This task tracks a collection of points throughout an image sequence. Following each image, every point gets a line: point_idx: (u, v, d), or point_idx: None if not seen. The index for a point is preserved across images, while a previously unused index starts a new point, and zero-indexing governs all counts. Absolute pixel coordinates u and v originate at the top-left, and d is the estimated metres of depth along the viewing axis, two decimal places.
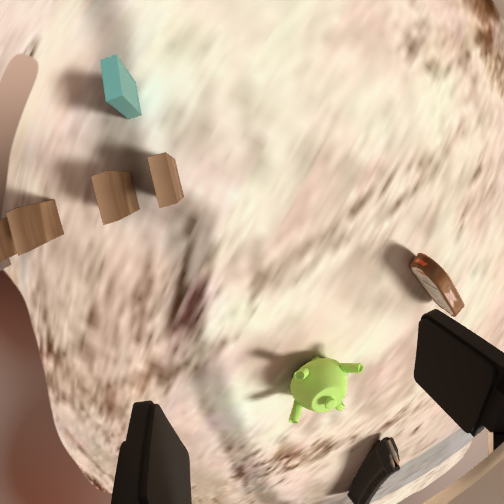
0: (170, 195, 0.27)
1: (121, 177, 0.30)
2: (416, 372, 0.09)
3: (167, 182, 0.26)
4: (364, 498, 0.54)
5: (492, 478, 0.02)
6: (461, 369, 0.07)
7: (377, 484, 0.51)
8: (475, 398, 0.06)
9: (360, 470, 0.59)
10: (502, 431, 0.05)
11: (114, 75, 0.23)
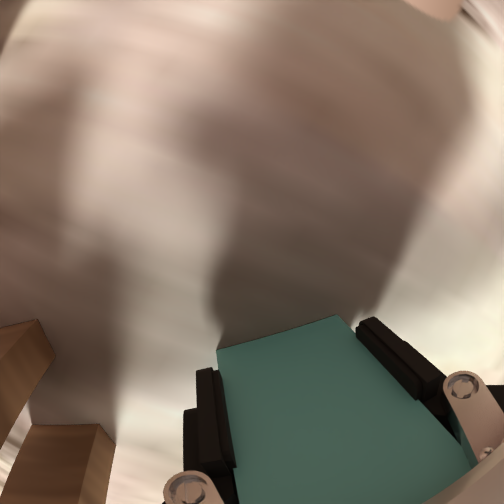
0: None
1: None
2: None
3: None
4: None
5: (492, 478, 0.02)
6: None
7: None
8: None
9: None
10: None
11: None
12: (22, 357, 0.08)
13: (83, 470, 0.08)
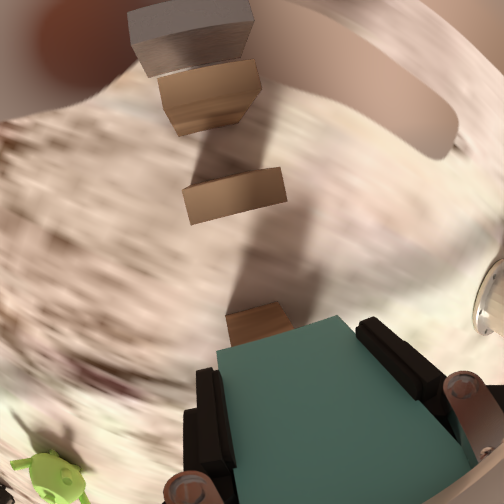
0: None
1: None
2: None
3: None
4: None
5: (492, 478, 0.02)
6: None
7: None
8: None
9: None
10: None
11: None
12: None
13: None
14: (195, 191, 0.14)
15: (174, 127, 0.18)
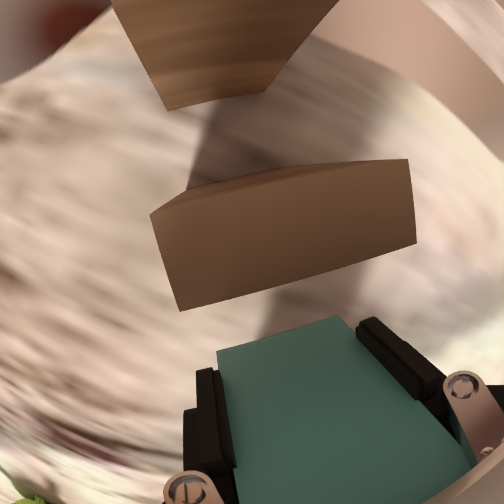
0: None
1: None
2: None
3: None
4: None
5: (492, 478, 0.02)
6: None
7: None
8: None
9: None
10: None
11: None
12: None
13: None
14: (189, 218, 0.05)
15: (155, 84, 0.09)
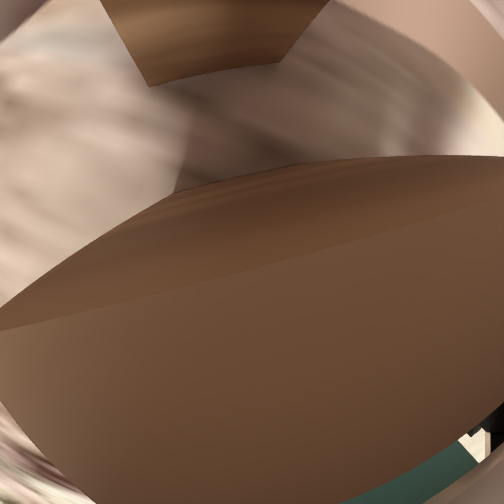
0: None
1: None
2: None
3: None
4: None
5: (492, 478, 0.02)
6: None
7: None
8: None
9: None
10: (499, 431, 0.05)
11: None
12: None
13: None
14: (99, 378, 0.01)
15: (121, 34, 0.05)
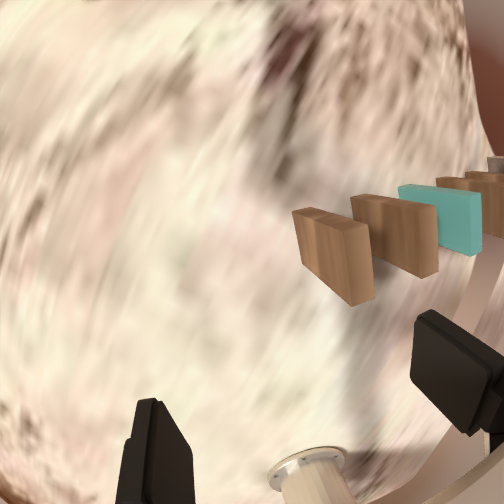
0: (351, 244, 0.17)
1: (385, 253, 0.23)
2: (412, 372, 0.09)
3: (353, 263, 0.17)
4: None
5: (492, 478, 0.02)
6: (456, 369, 0.07)
7: None
8: (470, 398, 0.06)
9: None
10: (498, 432, 0.05)
11: (474, 226, 0.19)
12: None
13: None
14: None
15: (491, 175, 0.24)
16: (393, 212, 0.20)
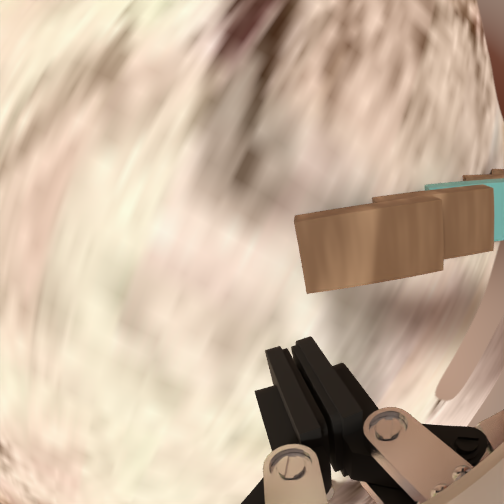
0: None
1: (444, 250, 0.19)
2: None
3: None
4: None
5: (492, 478, 0.02)
6: (317, 406, 0.07)
7: None
8: (330, 440, 0.07)
9: None
10: (383, 484, 0.05)
11: None
12: None
13: None
14: None
15: None
16: (462, 198, 0.17)
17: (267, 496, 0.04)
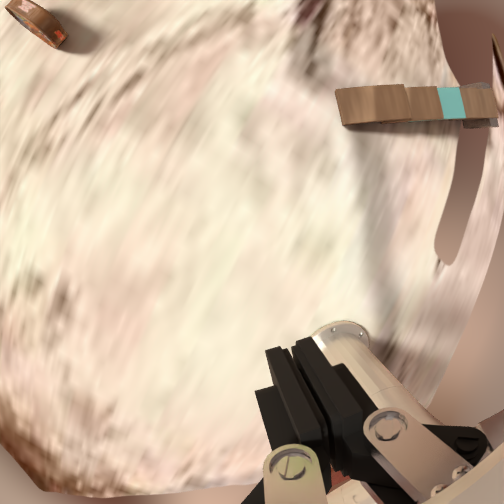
0: None
1: (414, 115, 0.34)
2: None
3: None
4: None
5: (492, 478, 0.02)
6: (317, 406, 0.07)
7: None
8: (330, 440, 0.07)
9: None
10: (383, 484, 0.05)
11: None
12: (394, 122, 0.36)
13: None
14: None
15: None
16: (419, 90, 0.32)
17: (267, 496, 0.04)
